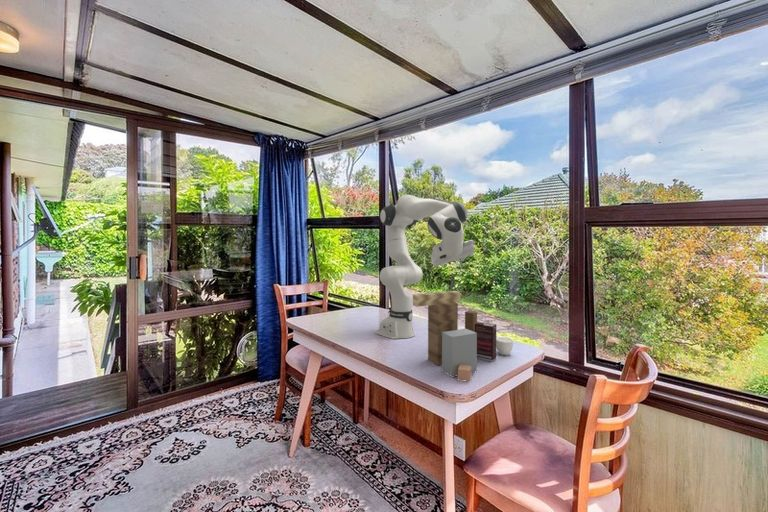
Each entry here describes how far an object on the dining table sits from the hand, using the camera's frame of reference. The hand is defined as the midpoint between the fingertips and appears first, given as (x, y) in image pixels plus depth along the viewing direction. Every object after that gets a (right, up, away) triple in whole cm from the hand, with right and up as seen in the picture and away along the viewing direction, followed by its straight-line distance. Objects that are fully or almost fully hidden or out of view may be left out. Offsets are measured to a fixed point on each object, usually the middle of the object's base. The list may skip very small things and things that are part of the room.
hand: (452, 263), depth 158 cm
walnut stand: (-7, -43, -12) cm, 45 cm away
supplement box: (+13, -43, -9) cm, 46 cm away
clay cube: (-2, -44, -30) cm, 53 cm away
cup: (+24, -42, -3) cm, 49 cm away
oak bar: (-10, -17, -15) cm, 25 cm away
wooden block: (+8, -42, +3) cm, 43 cm away
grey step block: (-2, -44, -23) cm, 49 cm away
